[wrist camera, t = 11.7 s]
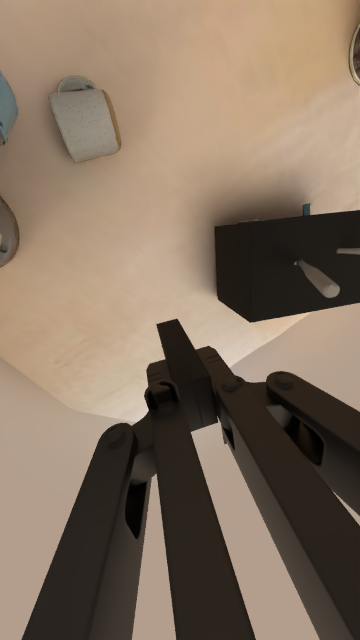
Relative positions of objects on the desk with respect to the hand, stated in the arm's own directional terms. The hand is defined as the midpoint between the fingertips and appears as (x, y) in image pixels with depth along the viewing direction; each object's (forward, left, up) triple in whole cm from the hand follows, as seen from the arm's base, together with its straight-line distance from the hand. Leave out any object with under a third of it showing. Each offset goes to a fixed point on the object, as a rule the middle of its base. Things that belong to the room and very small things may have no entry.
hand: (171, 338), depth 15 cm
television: (+26, -4, -33) cm, 42 cm away
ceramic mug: (-3, +25, -33) cm, 41 cm away
